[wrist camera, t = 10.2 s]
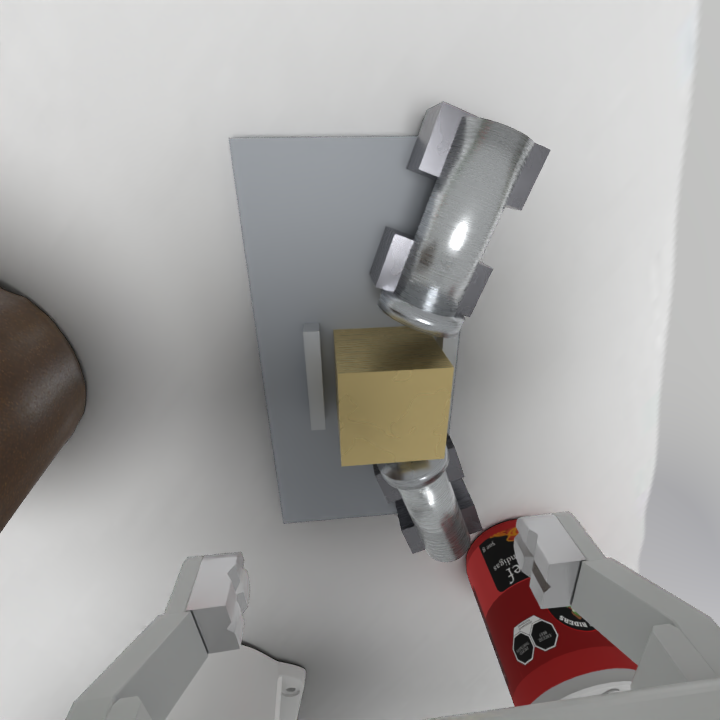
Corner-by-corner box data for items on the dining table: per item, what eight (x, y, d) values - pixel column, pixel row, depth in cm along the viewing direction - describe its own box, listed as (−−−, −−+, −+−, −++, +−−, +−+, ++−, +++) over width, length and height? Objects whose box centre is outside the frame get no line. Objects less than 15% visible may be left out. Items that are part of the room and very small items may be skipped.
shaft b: (427, 110, 17) (461, 91, 13) (521, 152, 18) (580, 147, 14) (363, 288, 20) (375, 318, 16) (447, 314, 21) (477, 349, 17)
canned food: (567, 514, 31) (685, 678, 21) (538, 580, 34) (626, 747, 24) (474, 515, 30) (552, 687, 20) (454, 583, 33) (511, 758, 23)
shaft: (469, 500, 27) (495, 557, 23) (405, 522, 28) (419, 582, 24) (438, 411, 24) (462, 460, 20) (365, 438, 24) (374, 492, 20)
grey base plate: (436, 498, 29) (445, 523, 27) (284, 512, 28) (282, 538, 26) (472, 137, 18) (491, 133, 16) (233, 139, 17) (222, 136, 15)
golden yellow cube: (425, 325, 21) (453, 367, 17) (420, 403, 23) (444, 458, 19) (333, 329, 21) (337, 374, 16) (336, 408, 23) (341, 466, 19)
